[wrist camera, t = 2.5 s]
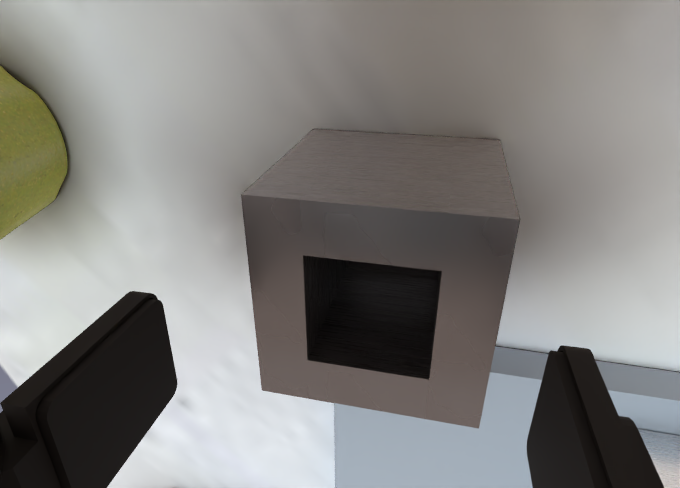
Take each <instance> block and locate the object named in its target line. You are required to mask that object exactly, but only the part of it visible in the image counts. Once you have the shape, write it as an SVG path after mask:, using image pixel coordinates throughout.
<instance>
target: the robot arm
mask: <svg viewBox="0 0 680 488" xmlns="http://www.w3.org/2000/svg"><path fill="white" fill-rule="evenodd" d="M176 388H177V378H176V372H175V367H174V362H173V356H172V351H171V346H170V340H169V335H168V330H167V324H166V319H165V314H164V308H163V304H162V302H161V301H159V300H158V299H157V297H156V296H155V295H154V294H151V293H144V292H136V291H132V292H129V293H127V294H126V295H125V296H124V297H123V298H122V299H120V300H119V301H118V302H117V303H116V304H115V305H113V306H112V307H111V308H110V309H109V310H108V311H106V312H105V313H104V314H103V315H102V316H101V317H100V318H98V319H97V320H96V321H95V322H94V323H93V324H91V325H90V326H89V327H88V328H87V329H86V330H84V331H83V332H82V333H81V334H80V335H79V336H77V337H76V338H75V339H74V340H73V341H72V342H70V343H69V344H68V345H67V346H66V347H65V348H64V349H62V350H61V351H60V352H59V353H58V354H57V355H55V356H54V357H53V358H52V359H51V360H50V361H48V362H47V363H46V364H45V365H44V366H43V367H41V368H40V369H39V370H38V371H37V372H36V373H35V374H33V375H32V376H31V377H30V378H29V379H28V380H26V381H25V382H24V383H23V384H22V385H21V386H19V387H18V388H17V389H16V390H15V391H14V392H12V393H11V394H10V395H9V396H8V397H7V398H5V400H3V401H2V402H1V403H0V404H1V406H2V409H3V411H2V412H1V413H0V488H107V486H108V485H109V484H110V482H111V481H112V480H113V478H114V477H115V475H116V474H117V473H118V471H119V470H120V469H121V467H122V466H123V464H124V463H125V462H126V460H127V459H128V458H129V456H130V455H131V453H132V452H133V451H134V449H135V448H136V447H137V445H138V444H139V442H140V441H141V440H142V438H143V437H144V436H145V434H146V433H147V431H148V430H149V429H150V427H151V426H152V425H153V423H154V422H155V420H156V419H157V418H158V416H159V415H160V414H161V412H162V411H163V409H164V408H165V407H166V405H167V404H168V403H169V401H170V400H171V398H172V397H173V395H174V394H175V391H176ZM527 458H528V464H529V469H530V475H531V481H532V486H533V488H664V485H663V483H662V481H661V479H660V477H659V474H658V472H657V470H656V468H655V466H654V463H653V461H652V459H651V457H650V455H649V452H648V450H647V448H646V446H645V444H644V442H643V439H642V437H641V435H640V433H639V431H638V428H637V426H636V425H635V423H634V421H633V420H632V419H630V418H629V417H623V416H618V413H617V411H616V408H615V406H614V404H613V401H612V399H611V397H610V394H609V392H608V390H607V387H606V385H605V382H604V380H603V378H602V375H601V373H600V371H599V368H598V366H597V363H596V361H595V359H594V356H593V354H592V352H591V350H589V349H586V348H578V347H570V346H560V347H559V349H558V352H557V351H550V352H549V355H548V358H547V362H546V366H545V370H544V374H543V378H542V382H541V386H540V390H539V394H538V398H537V402H536V406H535V410H534V414H533V418H532V422H531V426H530V430H529V434H528V438H527Z"/></svg>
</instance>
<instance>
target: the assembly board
mask: <svg viewBox="0 0 680 488" xmlns="http://www.w3.org/2000/svg"><path fill="white" fill-rule="evenodd" d="M548 355H549V354H546V353H539V352H532V351H525V350H518V349H511V348H504V347H497V346H495V350H494V355H493V360H492V365H491V370H490V375H489V380H488V385H487V390H486V396H485V401H484V406H483V411H482V416H481V421H480V426H479V429H478V428H472V427H467V426H461V425H456V424H450V423H444V422H439V421H433V420H427V419H422V418H416V417H410V416H405V415H399V414H393V413H388V412H382V411H376V410H371V409H365V408H359V407H354V406H348V405H342V404H337V403H334V425H335V488H533V486H532V481H531V475H530V469H529V464H528V458H527V438H528V434H529V430H530V426H531V422H532V418H533V414H534V410H535V406H536V402H537V398H538V394H539V390H540V386H541V382H542V378H543V374H544V370H545V366H546V362H547V358H548ZM595 361H596V360H595ZM596 363H597V366H598V368H599V371H600V373H601V375H602V378H603V380H604V382H605V385H606V387H607V390H608V392H609V394H610V397H611V399H612V401H613V404H614V406H615V408H616V411H617V413H618V416H623V417H629V418H630V419H632V420H633V421H634V423H635V425H636V426H637V428H638V429H642V430H648V431H654V432H660V433H666V434H672V435H678V436H680V372H673V371H666V370H659V369H652V368H645V367H638V366H631V365H624V364H617V363H610V362H603V361H596Z"/></svg>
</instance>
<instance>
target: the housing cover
mask: <svg viewBox="0 0 680 488" xmlns="http://www.w3.org/2000/svg"><path fill="white" fill-rule="evenodd" d="M638 431H639V433H640V435H641V437H642V439H643V442H644V444H645V446H646V448H647V450H648V452H649V455H650V457H651V459H652V461H653V463H654V466H655V468H656V470H657V472H658V474H659V477H660V479H661V481H662V483H663V485H664V488H680V436H678V435H672V434H666V433H660V432H654V431H648V430H642V429H638Z"/></svg>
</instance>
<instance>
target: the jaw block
mask: <svg viewBox="0 0 680 488" xmlns="http://www.w3.org/2000/svg"><path fill="white" fill-rule="evenodd" d="M241 198H242V208H243V217H244V226H245V236H246V245H247V254H248V264H249V273H250V282H251V292H252V301H253V310H254V320H255V329H256V338H257V348H258V357H259V366H260V376H261V385H262V390H263V391H269V392H274V393H280V394H286V395H291V396H297V397H303V398H308V399H314V400H320V401H325V402H331V403H337V404H342V405H348V406H354V407H359V408H365V409H371V410H376V411H382V412H388V413H393V414H399V415H405V416H410V417H416V418H422V419H427V420H433V421H439V422H444V423H450V424H456V425H461V426H467V427H472V428H478V429H479V426H480V421H481V416H482V411H483V406H484V401H485V396H486V390H487V385H488V380H489V375H490V370H491V365H492V360H493V355H494V350H495V345H496V339H497V334H498V329H499V324H500V319H501V314H502V309H503V304H504V299H505V294H506V289H507V283H508V278H509V273H510V268H511V263H512V258H513V253H514V248H515V243H516V238H517V233H518V227H519V222H520V217H519V213H518V209H517V205H516V201H515V198H514V194H513V190H512V186H511V182H510V178H509V174H508V170H507V166H506V162H505V158H504V154H503V150H502V146H501V142H500V140H496V139H479V138H462V137H444V136H427V135H410V134H393V133H375V132H358V131H341V130H323V129H313V130H312V131H311V132H310V133H309V134H307V135H306V136H305V137H304V138H303V139H302V140H301V141H300V142H299V143H298V144H296V145H295V146H294V147H293V148H292V149H291V150H290V151H289V152H288V153H286V154H285V155H284V156H283V157H282V158H281V159H280V160H279V161H278V162H277V163H275V164H274V165H273V166H272V167H271V168H270V169H269V170H268V171H267V172H265V173H264V174H263V175H262V176H261V177H260V178H259V179H258V180H257V181H255V182H254V183H253V184H252V185H251V186H250V187H249V188H248V189H247V190H246V191H244V192H243V193H242V194H241Z"/></svg>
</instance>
